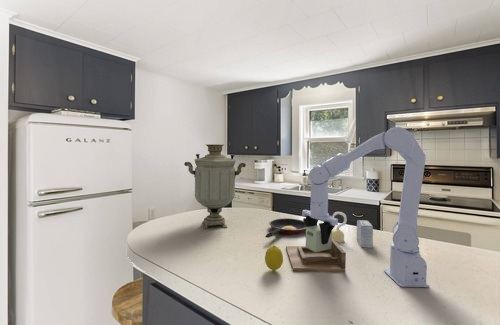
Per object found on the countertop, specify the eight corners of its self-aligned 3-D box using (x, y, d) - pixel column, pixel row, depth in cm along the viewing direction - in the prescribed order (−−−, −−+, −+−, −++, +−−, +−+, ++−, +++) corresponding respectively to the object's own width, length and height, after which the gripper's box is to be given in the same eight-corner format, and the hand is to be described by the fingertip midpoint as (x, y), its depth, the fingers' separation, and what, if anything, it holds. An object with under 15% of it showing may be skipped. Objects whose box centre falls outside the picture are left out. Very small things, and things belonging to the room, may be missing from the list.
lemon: (271, 265, 83) (271, 241, 83) (286, 270, 79) (286, 245, 79) (261, 271, 79) (261, 245, 78) (276, 277, 75) (276, 250, 75)
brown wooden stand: (345, 271, 79) (345, 252, 78) (293, 271, 79) (293, 252, 79) (328, 249, 97) (328, 233, 96) (286, 248, 97) (286, 233, 97)
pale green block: (331, 248, 87) (331, 228, 87) (314, 252, 84) (314, 231, 83) (321, 243, 91) (321, 224, 91) (304, 247, 88) (304, 227, 88)
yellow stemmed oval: (329, 240, 106) (330, 212, 105) (332, 237, 110) (333, 209, 110) (344, 243, 103) (345, 214, 102) (347, 239, 107) (347, 211, 107)
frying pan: (314, 228, 124) (314, 220, 123) (288, 250, 96) (289, 240, 96) (278, 222, 133) (279, 215, 133) (246, 240, 106) (246, 231, 106)
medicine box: (372, 248, 98) (373, 226, 98) (360, 247, 99) (361, 225, 99) (367, 241, 106) (368, 220, 105) (356, 240, 107) (356, 219, 106)
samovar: (249, 218, 140) (250, 145, 138) (241, 233, 114) (241, 143, 112) (197, 215, 145) (197, 144, 143) (178, 230, 119) (177, 143, 117)
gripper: (344, 204, 83) (343, 245, 83) (312, 197, 95) (311, 233, 96) (329, 206, 79) (328, 249, 80) (298, 198, 92) (297, 236, 92)
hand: (318, 240), depth 87 cm, fingers closed on pale green block, 5 cm apart
